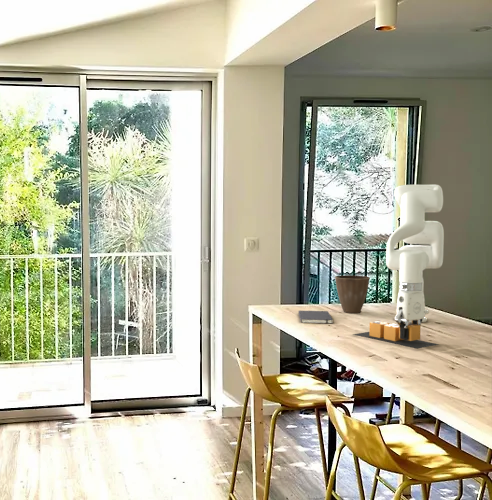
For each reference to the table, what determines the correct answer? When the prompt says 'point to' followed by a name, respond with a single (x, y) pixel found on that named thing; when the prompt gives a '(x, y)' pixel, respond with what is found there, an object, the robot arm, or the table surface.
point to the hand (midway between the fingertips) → (409, 337)
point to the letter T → (413, 331)
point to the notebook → (315, 317)
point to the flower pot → (352, 292)
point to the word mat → (400, 341)
